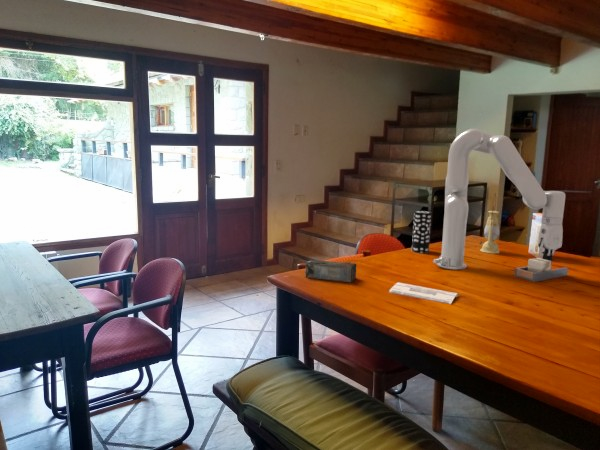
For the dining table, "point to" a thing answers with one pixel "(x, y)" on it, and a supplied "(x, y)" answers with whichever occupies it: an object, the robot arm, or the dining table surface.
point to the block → (538, 265)
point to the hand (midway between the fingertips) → (546, 264)
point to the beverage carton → (331, 270)
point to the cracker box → (535, 236)
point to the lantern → (491, 233)
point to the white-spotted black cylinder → (421, 231)
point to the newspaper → (423, 293)
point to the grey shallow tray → (539, 274)
